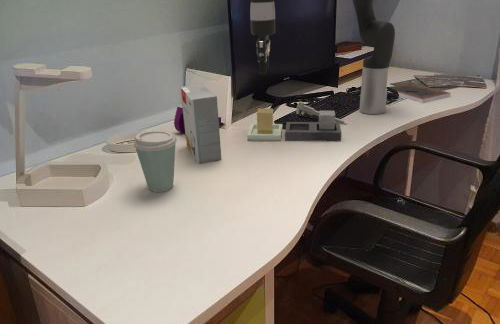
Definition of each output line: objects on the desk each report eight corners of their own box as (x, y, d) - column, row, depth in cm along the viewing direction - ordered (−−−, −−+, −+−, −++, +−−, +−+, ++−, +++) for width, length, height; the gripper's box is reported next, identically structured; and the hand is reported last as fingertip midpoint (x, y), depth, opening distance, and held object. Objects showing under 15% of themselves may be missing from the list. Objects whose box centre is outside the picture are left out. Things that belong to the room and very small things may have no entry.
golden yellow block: (273, 130, 144) (273, 108, 140) (272, 135, 139) (271, 113, 136) (259, 130, 144) (258, 108, 141) (257, 135, 140) (256, 113, 136)
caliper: (296, 116, 159) (296, 101, 156) (297, 116, 160) (297, 100, 157) (346, 125, 148) (347, 109, 145) (347, 125, 149) (348, 108, 146)
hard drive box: (186, 146, 135) (179, 86, 127) (208, 142, 138) (203, 83, 129) (197, 164, 122) (191, 98, 114) (222, 160, 124) (218, 95, 116)
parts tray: (282, 129, 146) (282, 124, 145) (280, 141, 136) (280, 135, 135) (251, 129, 148) (251, 123, 147) (247, 140, 138) (247, 135, 137)
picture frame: (383, 93, 186) (422, 104, 168) (383, 87, 185) (423, 98, 167) (410, 87, 193) (449, 98, 175) (410, 82, 191) (450, 92, 174)
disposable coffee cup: (165, 174, 117) (158, 124, 111) (190, 185, 110) (184, 132, 104) (133, 188, 110) (123, 135, 103) (158, 201, 103) (150, 145, 97)
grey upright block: (333, 133, 141) (334, 110, 138) (334, 138, 137) (335, 115, 133) (318, 133, 142) (319, 110, 139) (318, 138, 137) (319, 115, 134)
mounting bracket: (206, 137, 159) (171, 130, 144) (211, 115, 158) (177, 106, 144) (224, 142, 153) (190, 135, 139) (229, 119, 153) (196, 111, 138)
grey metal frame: (338, 130, 143) (339, 122, 142) (340, 141, 134) (341, 132, 133) (286, 130, 146) (286, 121, 144) (285, 140, 137) (285, 132, 135)
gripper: (273, 20, 119) (274, 76, 126) (276, 15, 132) (277, 66, 139) (247, 20, 120) (249, 76, 127) (253, 15, 133) (255, 66, 140)
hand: (264, 71), depth 133 cm, fingers open, 8 cm apart
